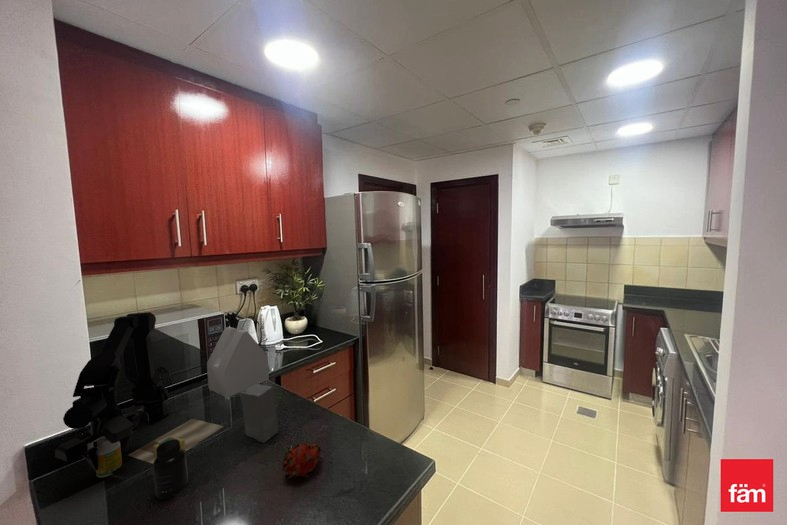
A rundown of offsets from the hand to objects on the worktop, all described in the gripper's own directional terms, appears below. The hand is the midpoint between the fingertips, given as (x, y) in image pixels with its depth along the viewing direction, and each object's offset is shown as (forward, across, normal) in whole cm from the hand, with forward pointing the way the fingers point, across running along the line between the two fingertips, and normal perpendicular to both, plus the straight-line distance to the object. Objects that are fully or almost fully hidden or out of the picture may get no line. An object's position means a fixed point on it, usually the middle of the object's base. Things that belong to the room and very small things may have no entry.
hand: (108, 462), depth 87 cm
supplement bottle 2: (+3, +1, -24) cm, 24 cm away
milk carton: (+3, +53, +9) cm, 54 cm away
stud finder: (+2, +10, -10) cm, 14 cm away
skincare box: (+3, +26, -29) cm, 39 cm away
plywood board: (+2, +15, -6) cm, 17 cm away
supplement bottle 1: (+3, 0, 0) cm, 3 cm away
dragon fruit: (+3, +17, -52) cm, 55 cm away
